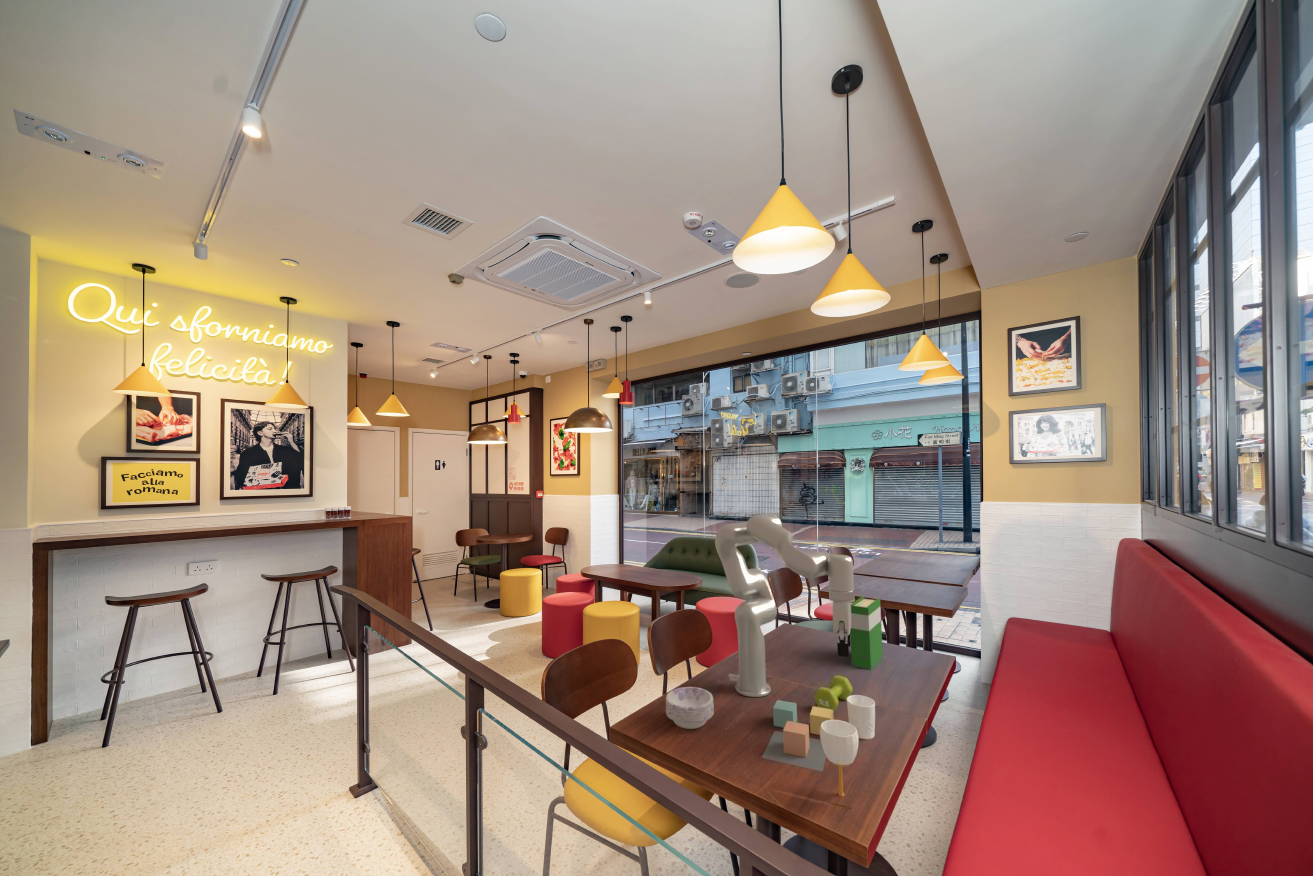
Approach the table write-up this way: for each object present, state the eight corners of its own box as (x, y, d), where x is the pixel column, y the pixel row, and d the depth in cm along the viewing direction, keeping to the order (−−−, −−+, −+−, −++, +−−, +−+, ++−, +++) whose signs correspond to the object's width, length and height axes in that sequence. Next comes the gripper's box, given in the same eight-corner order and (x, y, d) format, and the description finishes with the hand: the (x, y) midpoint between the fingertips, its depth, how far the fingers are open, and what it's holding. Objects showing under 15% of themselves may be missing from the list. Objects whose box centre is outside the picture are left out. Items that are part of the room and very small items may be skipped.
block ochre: (810, 735, 151) (809, 714, 152) (813, 726, 157) (812, 706, 157) (831, 739, 149) (830, 718, 149) (834, 730, 154) (833, 709, 154)
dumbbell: (835, 717, 162) (834, 693, 163) (812, 709, 168) (811, 687, 168) (855, 699, 174) (854, 677, 175) (832, 693, 180) (831, 672, 180)
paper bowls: (674, 737, 151) (673, 710, 152) (660, 714, 166) (660, 689, 166) (721, 729, 155) (720, 703, 156) (704, 708, 170) (703, 683, 170)
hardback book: (864, 653, 218) (862, 596, 220) (882, 656, 214) (880, 598, 215) (851, 665, 204) (849, 605, 206) (871, 669, 200) (868, 608, 201)
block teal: (773, 727, 156) (773, 707, 156) (778, 719, 161) (777, 699, 162) (793, 731, 153) (792, 711, 154) (797, 722, 159) (796, 703, 159)
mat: (761, 759, 138) (761, 757, 138) (774, 732, 153) (774, 730, 153) (822, 774, 132) (822, 771, 132) (830, 744, 146) (830, 741, 146)
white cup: (874, 745, 145) (872, 708, 146) (845, 737, 149) (844, 702, 150) (878, 732, 152) (876, 698, 152) (851, 726, 156) (849, 692, 157)
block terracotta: (783, 752, 141) (783, 730, 141) (788, 742, 146) (787, 720, 147) (805, 757, 138) (805, 734, 139) (809, 746, 144) (808, 724, 144)
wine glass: (853, 814, 116) (850, 741, 117) (815, 797, 122) (812, 729, 123) (867, 795, 123) (864, 726, 124) (830, 780, 129) (828, 715, 130)
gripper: (831, 588, 169) (833, 641, 167) (826, 600, 153) (829, 658, 151) (855, 590, 166) (858, 643, 164) (853, 602, 150) (856, 662, 148)
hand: (844, 650), depth 158 cm, fingers open, 9 cm apart
